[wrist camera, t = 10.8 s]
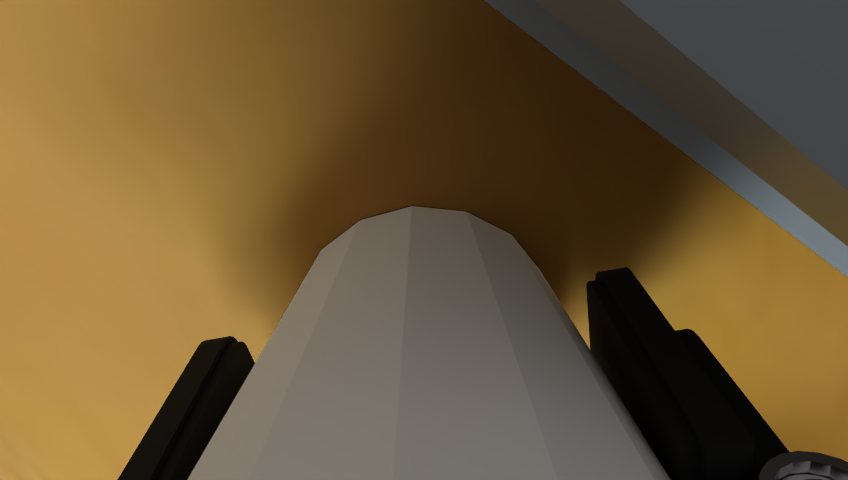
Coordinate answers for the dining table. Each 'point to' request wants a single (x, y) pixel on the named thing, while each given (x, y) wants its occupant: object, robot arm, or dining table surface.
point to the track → (670, 125)
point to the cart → (743, 82)
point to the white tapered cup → (426, 370)
